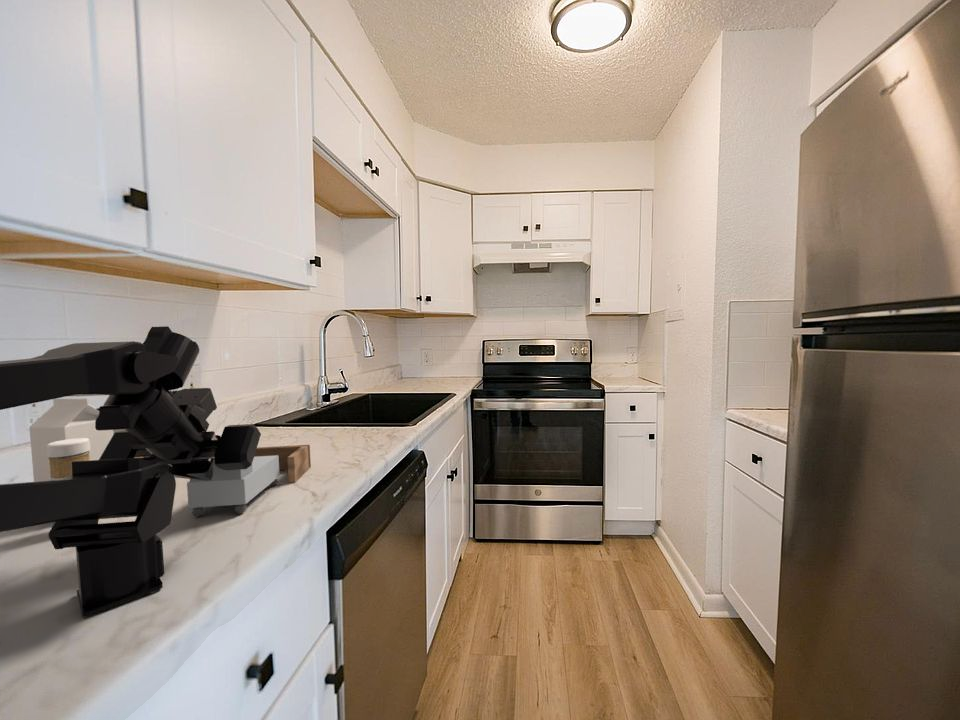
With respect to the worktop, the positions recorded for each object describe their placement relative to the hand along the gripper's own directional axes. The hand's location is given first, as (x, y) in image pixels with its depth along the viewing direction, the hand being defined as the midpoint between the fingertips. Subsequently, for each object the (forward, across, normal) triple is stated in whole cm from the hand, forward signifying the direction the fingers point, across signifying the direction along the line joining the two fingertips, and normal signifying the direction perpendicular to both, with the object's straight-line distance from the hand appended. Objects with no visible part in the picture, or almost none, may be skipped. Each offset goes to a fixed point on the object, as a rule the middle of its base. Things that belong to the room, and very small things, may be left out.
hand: (209, 477), depth 64 cm
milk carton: (+10, +25, 0) cm, 27 cm away
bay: (+19, 0, -10) cm, 21 cm away
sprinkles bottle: (+5, +20, +5) cm, 21 cm away
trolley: (+11, 0, -1) cm, 11 cm away
